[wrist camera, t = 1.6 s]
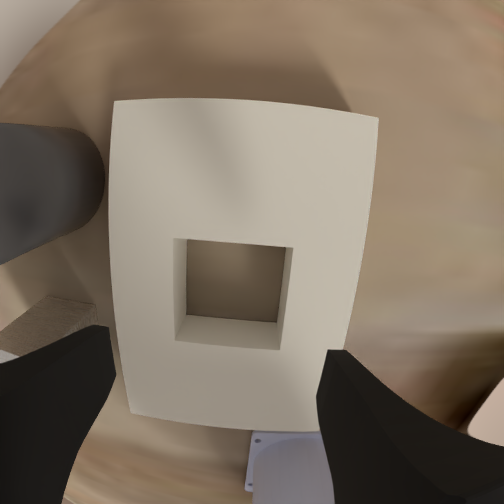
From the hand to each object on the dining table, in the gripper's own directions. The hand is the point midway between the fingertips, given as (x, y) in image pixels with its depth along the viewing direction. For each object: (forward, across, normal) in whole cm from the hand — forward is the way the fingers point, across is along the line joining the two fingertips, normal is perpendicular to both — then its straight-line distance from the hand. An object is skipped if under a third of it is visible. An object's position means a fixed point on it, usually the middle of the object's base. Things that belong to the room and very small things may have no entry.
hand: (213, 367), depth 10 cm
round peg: (+8, +11, -5) cm, 15 cm away
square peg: (+8, +11, +5) cm, 15 cm away
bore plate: (+8, 0, 0) cm, 8 cm away
